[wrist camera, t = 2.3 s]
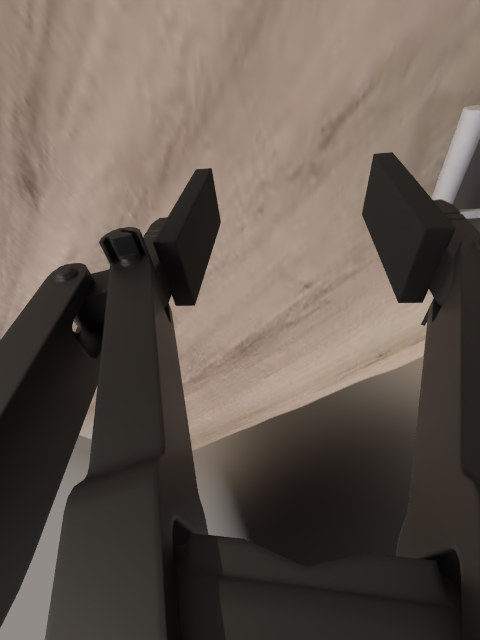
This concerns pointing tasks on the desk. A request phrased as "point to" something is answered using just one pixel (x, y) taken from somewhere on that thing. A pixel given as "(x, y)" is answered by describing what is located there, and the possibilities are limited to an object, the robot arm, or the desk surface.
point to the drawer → (463, 168)
